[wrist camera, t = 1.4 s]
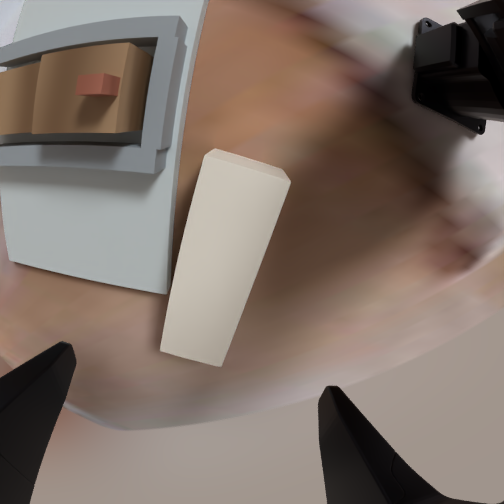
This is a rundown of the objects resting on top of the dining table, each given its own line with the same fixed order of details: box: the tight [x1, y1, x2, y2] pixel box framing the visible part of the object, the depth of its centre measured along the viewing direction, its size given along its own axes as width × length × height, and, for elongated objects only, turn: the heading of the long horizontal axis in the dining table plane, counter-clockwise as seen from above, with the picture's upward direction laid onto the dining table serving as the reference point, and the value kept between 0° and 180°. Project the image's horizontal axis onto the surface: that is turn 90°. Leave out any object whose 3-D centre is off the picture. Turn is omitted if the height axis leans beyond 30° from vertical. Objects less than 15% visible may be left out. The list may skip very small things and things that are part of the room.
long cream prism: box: [160, 149, 291, 367], centre depth 17 cm, size 4×12×4 cm, turn 162°
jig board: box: [0, 0, 209, 295], centre depth 13 cm, size 14×22×3 cm, turn 171°
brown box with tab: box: [0, 42, 154, 135], centre depth 10 cm, size 12×4×6 cm, turn 81°
